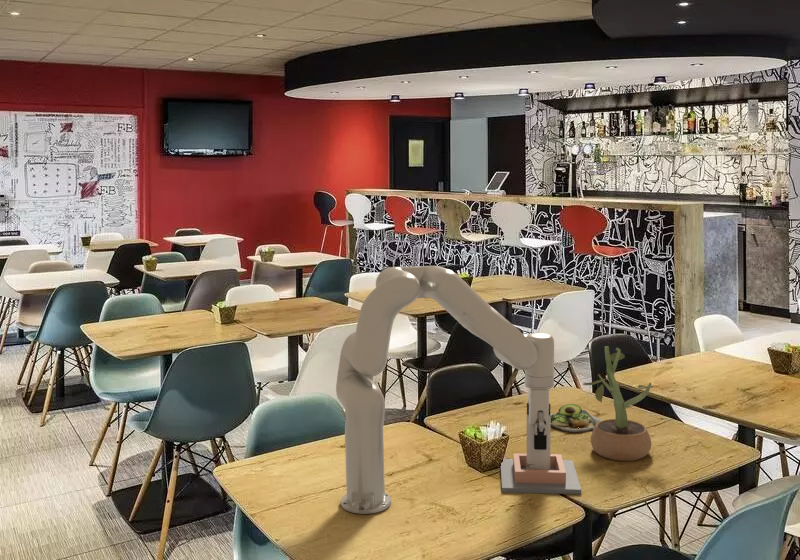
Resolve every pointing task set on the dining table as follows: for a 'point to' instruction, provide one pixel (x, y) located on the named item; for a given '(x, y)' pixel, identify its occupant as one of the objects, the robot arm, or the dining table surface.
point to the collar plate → (539, 476)
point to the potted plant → (619, 420)
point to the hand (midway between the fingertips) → (538, 442)
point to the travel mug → (537, 457)
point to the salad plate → (573, 419)
